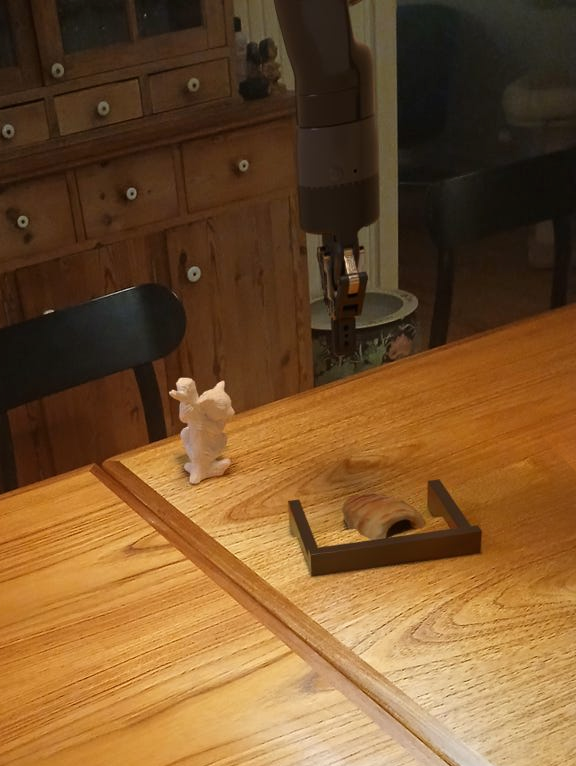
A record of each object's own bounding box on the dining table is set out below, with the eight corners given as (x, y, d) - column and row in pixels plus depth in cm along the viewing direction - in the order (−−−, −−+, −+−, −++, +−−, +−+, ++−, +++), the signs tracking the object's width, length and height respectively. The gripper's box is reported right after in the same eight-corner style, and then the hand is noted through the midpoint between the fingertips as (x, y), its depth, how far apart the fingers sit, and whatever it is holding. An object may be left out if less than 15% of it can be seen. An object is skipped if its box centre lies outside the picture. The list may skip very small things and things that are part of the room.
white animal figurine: (197, 493, 113) (185, 393, 106) (161, 477, 118) (147, 381, 111) (251, 466, 116) (244, 368, 110) (214, 452, 121) (204, 357, 115)
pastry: (325, 520, 103) (324, 487, 101) (383, 503, 104) (383, 470, 102) (372, 559, 95) (372, 524, 93) (434, 540, 96) (435, 505, 94)
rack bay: (438, 504, 102) (439, 469, 100) (479, 568, 91) (482, 530, 89) (289, 526, 103) (287, 491, 101) (312, 591, 92) (310, 555, 90)
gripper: (395, 177, 87) (397, 367, 96) (362, 154, 98) (366, 327, 107) (309, 193, 87) (319, 380, 97) (286, 169, 98) (297, 339, 108)
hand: (344, 352), depth 102 cm, fingers closed
